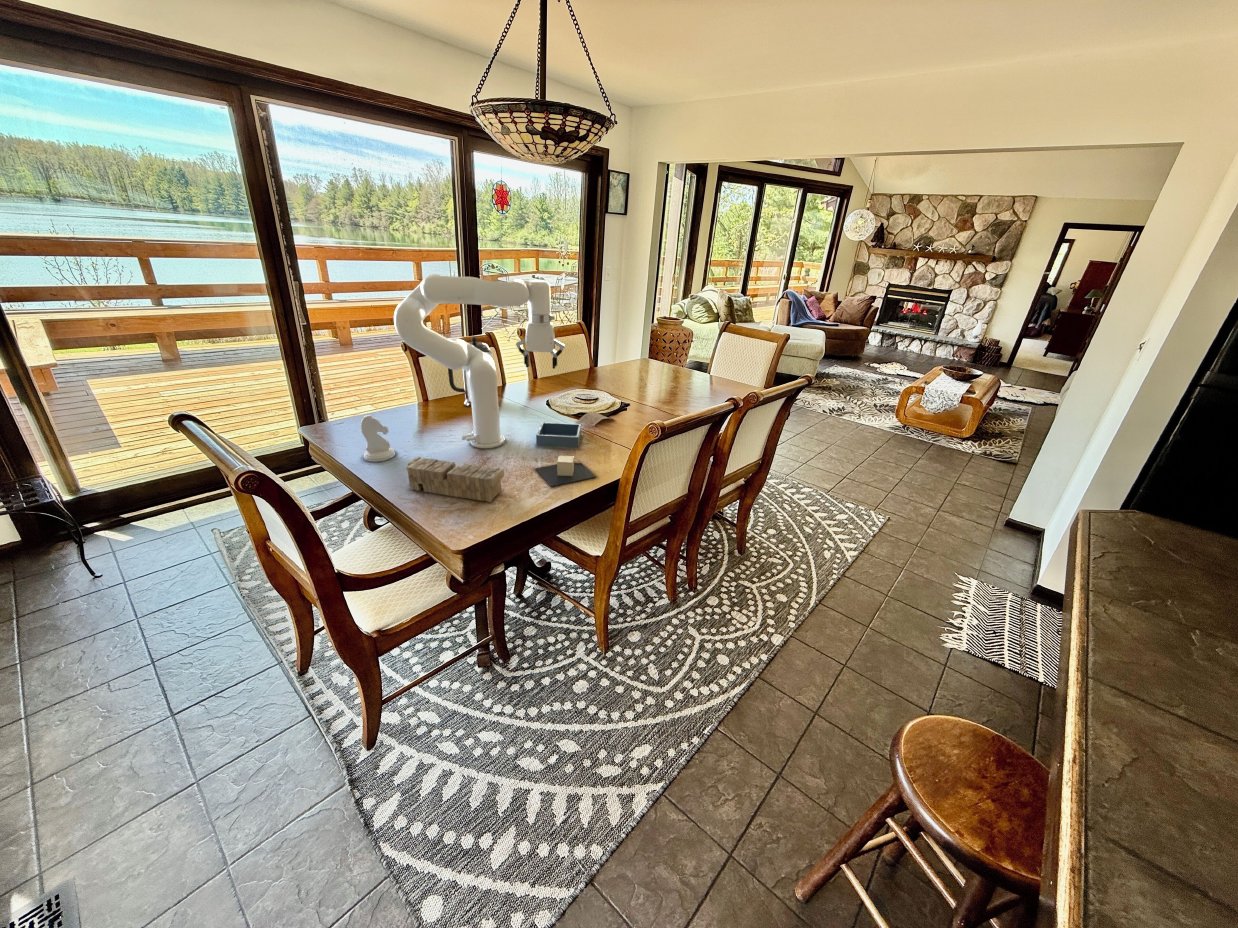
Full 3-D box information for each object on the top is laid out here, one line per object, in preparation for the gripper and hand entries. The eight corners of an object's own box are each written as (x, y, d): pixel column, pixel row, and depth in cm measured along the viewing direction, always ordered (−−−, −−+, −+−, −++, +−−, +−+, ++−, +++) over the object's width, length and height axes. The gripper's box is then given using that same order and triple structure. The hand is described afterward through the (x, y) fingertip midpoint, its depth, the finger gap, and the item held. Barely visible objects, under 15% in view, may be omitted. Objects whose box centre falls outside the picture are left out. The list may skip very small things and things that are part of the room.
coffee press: (485, 395, 232) (480, 332, 219) (501, 404, 222) (497, 338, 209) (450, 401, 221) (443, 335, 208) (466, 411, 211) (460, 342, 198)
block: (557, 475, 158) (557, 461, 156) (559, 468, 163) (559, 455, 161) (572, 476, 158) (572, 462, 156) (573, 469, 163) (574, 456, 161)
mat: (551, 487, 152) (551, 486, 152) (535, 469, 163) (535, 468, 162) (596, 477, 159) (596, 476, 159) (578, 461, 170) (578, 460, 170)
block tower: (406, 491, 147) (494, 503, 141) (401, 466, 143) (491, 477, 137) (421, 480, 154) (506, 491, 148) (417, 456, 150) (503, 466, 144)
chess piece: (397, 458, 165) (390, 417, 159) (365, 463, 160) (357, 421, 154) (392, 448, 173) (385, 408, 166) (362, 452, 168) (353, 412, 161)
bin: (536, 447, 179) (536, 435, 177) (542, 434, 191) (541, 422, 189) (578, 449, 179) (578, 437, 177) (581, 435, 191) (581, 424, 189)
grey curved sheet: (592, 428, 199) (592, 422, 198) (575, 422, 205) (575, 416, 204) (615, 420, 209) (616, 415, 208) (599, 414, 215) (599, 409, 214)
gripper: (565, 318, 171) (565, 365, 178) (517, 316, 170) (519, 363, 178) (563, 321, 164) (563, 371, 171) (512, 319, 164) (515, 368, 171)
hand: (540, 367), depth 175 cm, fingers open, 9 cm apart
